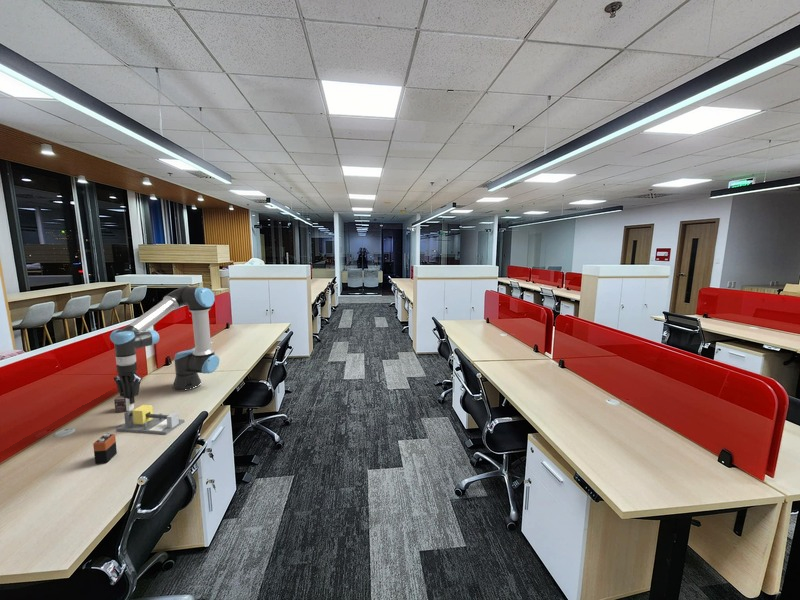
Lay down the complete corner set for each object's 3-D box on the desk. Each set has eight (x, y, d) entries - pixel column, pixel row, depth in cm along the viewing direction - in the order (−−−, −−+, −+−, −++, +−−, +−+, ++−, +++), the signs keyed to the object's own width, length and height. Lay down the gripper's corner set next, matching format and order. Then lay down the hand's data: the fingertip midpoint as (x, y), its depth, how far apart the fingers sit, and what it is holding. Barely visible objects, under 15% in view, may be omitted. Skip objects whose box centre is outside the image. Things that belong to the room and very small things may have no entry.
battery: (117, 453, 139) (115, 431, 138) (107, 463, 133) (105, 440, 131) (105, 454, 138) (103, 432, 137) (94, 464, 132) (92, 441, 130)
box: (114, 412, 174) (113, 399, 173) (121, 407, 180) (120, 395, 179) (128, 411, 175) (127, 398, 174) (134, 406, 181) (133, 394, 180)
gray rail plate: (138, 418, 168) (137, 406, 167) (184, 421, 166) (183, 409, 166) (116, 430, 156) (115, 417, 156) (165, 434, 155) (165, 421, 154)
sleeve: (144, 417, 165) (143, 404, 164) (153, 418, 164) (152, 405, 163) (133, 423, 159) (132, 410, 158) (143, 424, 158) (142, 411, 157)
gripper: (106, 365, 155) (110, 412, 158) (132, 366, 154) (136, 414, 157) (121, 360, 162) (125, 405, 165) (145, 361, 161) (149, 407, 164)
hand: (130, 409), depth 161 cm, fingers closed
